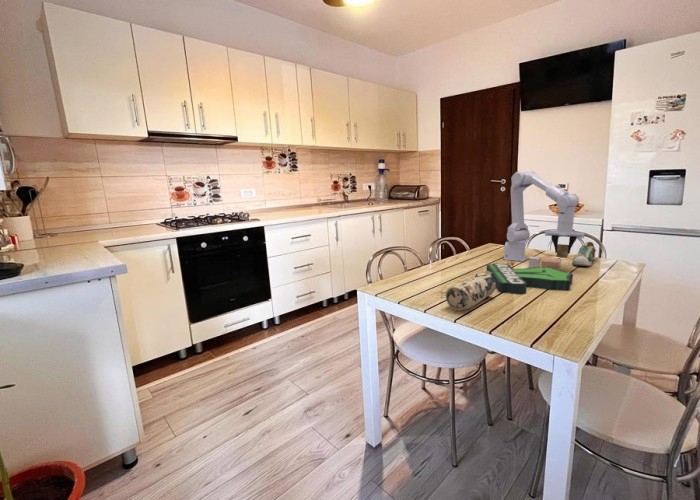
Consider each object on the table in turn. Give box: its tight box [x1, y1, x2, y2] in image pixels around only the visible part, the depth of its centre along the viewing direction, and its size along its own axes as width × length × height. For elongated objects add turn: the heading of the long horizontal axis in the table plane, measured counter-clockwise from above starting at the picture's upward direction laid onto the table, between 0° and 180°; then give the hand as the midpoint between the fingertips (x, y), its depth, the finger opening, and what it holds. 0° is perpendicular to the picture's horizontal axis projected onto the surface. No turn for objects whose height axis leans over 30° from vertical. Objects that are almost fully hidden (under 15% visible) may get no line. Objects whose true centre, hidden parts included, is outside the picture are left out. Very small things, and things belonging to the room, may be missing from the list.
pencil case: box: [445, 270, 496, 311], centre depth 117 cm, size 22×8×10 cm, turn 133°
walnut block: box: [556, 243, 569, 259], centre depth 149 cm, size 4×4×5 cm
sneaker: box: [572, 241, 597, 267], centre depth 161 cm, size 8×21×10 cm, turn 137°
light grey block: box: [528, 256, 541, 268], centre depth 157 cm, size 4×4×5 cm
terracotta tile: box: [540, 257, 562, 269], centre depth 160 cm, size 7×7×3 cm
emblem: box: [486, 263, 574, 295], centre depth 138 cm, size 30×4×30 cm
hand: (562, 252), depth 150 cm, fingers closed on walnut block, 4 cm apart
